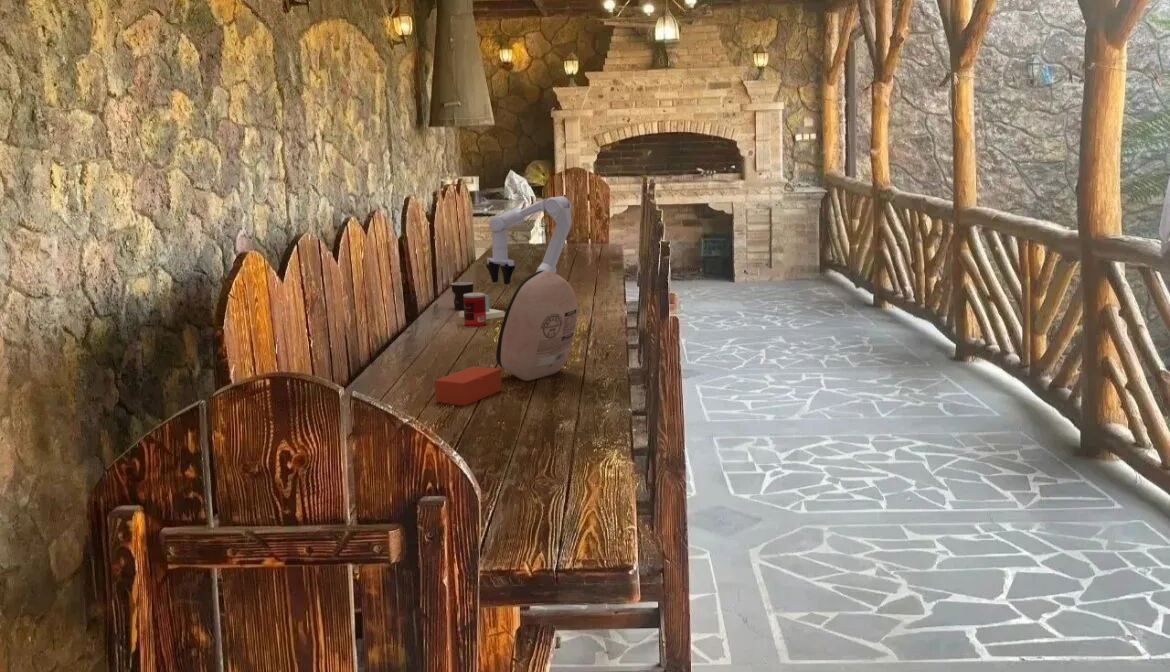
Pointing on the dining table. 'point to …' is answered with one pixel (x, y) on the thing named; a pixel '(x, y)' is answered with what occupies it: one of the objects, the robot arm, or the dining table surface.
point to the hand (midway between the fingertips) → (501, 283)
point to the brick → (468, 385)
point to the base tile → (488, 314)
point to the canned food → (474, 309)
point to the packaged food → (538, 327)
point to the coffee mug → (460, 293)
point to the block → (487, 302)
